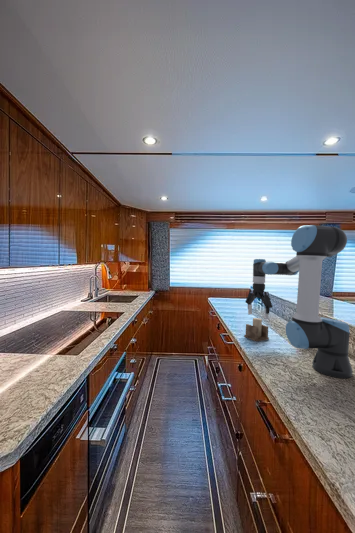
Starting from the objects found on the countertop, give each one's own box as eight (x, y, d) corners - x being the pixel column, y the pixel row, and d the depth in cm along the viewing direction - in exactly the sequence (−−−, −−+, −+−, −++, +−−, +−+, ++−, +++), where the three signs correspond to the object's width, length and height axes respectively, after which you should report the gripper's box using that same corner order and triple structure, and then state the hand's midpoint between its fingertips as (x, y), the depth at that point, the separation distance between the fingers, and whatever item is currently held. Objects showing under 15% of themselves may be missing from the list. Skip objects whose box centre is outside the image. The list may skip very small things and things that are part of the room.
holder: (268, 339, 146) (269, 326, 146) (256, 341, 141) (256, 328, 141) (256, 334, 155) (257, 322, 155) (244, 336, 150) (244, 324, 150)
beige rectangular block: (263, 336, 147) (263, 319, 147) (256, 338, 144) (257, 320, 144) (256, 334, 152) (257, 317, 151) (250, 335, 149) (251, 318, 149)
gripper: (279, 284, 138) (278, 320, 138) (249, 281, 160) (248, 312, 160) (270, 284, 135) (269, 321, 135) (240, 281, 157) (239, 313, 157)
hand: (257, 316), depth 147 cm, fingers open, 13 cm apart
